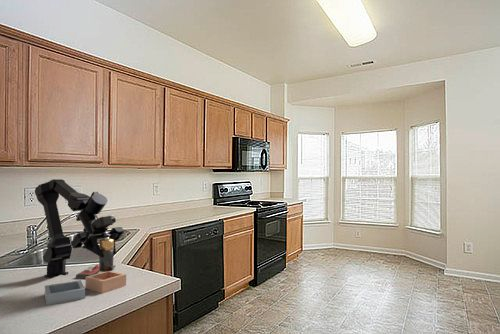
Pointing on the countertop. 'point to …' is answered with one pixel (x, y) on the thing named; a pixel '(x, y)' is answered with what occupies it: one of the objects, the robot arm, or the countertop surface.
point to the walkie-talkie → (89, 271)
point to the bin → (105, 281)
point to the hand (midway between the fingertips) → (108, 255)
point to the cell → (106, 255)
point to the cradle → (64, 292)
